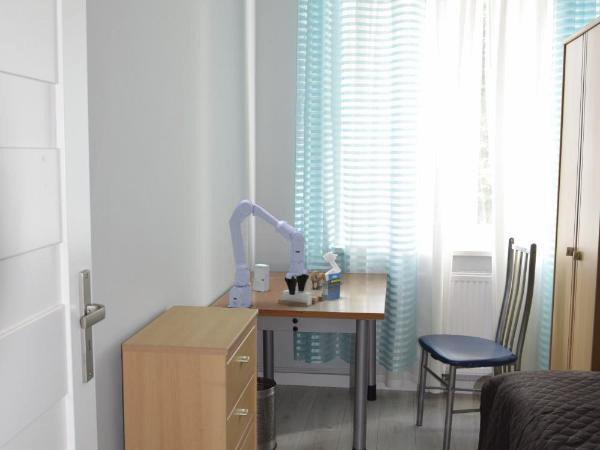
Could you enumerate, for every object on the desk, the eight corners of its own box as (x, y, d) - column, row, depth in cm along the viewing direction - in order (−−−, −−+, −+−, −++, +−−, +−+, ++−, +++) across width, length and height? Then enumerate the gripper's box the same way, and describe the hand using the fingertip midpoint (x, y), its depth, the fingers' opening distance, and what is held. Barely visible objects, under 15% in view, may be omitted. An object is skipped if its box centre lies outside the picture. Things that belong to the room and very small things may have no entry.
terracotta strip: (315, 302, 304) (315, 297, 304) (292, 299, 310) (292, 295, 309) (318, 301, 307) (318, 296, 307) (295, 298, 312) (295, 294, 312)
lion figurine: (319, 290, 338) (319, 271, 337) (308, 289, 340) (308, 270, 339) (328, 285, 352) (329, 267, 351) (318, 284, 353) (318, 266, 353)
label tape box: (333, 298, 319) (333, 271, 317) (340, 299, 316) (340, 272, 315) (320, 301, 312) (321, 273, 311) (328, 302, 309) (328, 274, 308)
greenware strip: (307, 305, 297) (307, 293, 297) (282, 302, 303) (282, 291, 303) (311, 304, 300) (311, 292, 300) (286, 301, 306) (286, 289, 306)
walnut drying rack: (305, 309, 294) (306, 303, 294) (276, 306, 301) (276, 299, 301) (324, 302, 309) (325, 296, 309) (296, 299, 316) (296, 293, 316)
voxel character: (351, 274, 353) (333, 249, 352) (331, 288, 354) (313, 263, 353) (350, 272, 360) (333, 248, 359) (331, 285, 361) (314, 261, 360)
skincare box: (253, 290, 336) (253, 264, 334) (259, 289, 339) (259, 263, 338) (263, 292, 332) (264, 265, 331) (269, 290, 336) (269, 264, 335)
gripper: (297, 264, 292) (296, 297, 293) (313, 259, 304) (313, 291, 306) (282, 262, 295) (281, 295, 296) (299, 258, 308) (298, 289, 309)
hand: (296, 293), depth 301 cm, fingers open, 7 cm apart
